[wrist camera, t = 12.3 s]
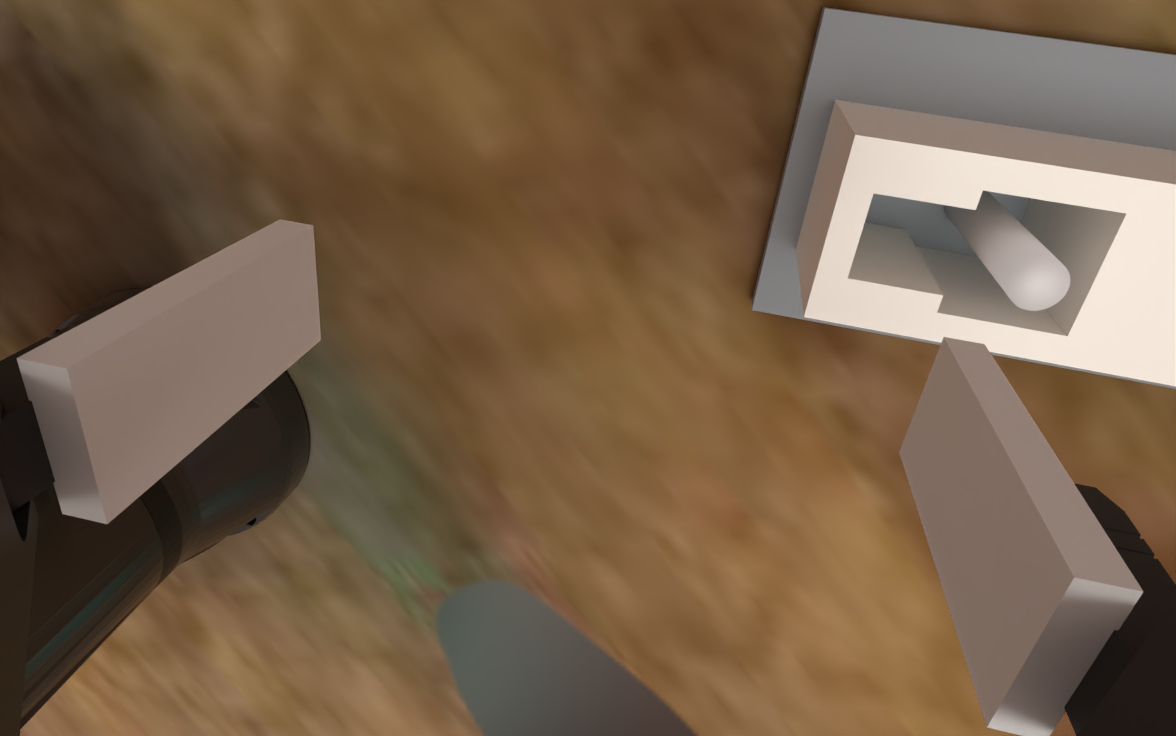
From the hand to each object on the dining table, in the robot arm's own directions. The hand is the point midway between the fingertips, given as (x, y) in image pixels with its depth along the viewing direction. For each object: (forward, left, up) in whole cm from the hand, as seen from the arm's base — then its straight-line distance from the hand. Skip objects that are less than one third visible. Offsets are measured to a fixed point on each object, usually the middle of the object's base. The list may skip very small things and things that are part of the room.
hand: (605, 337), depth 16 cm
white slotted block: (+16, 0, -17) cm, 24 cm away
